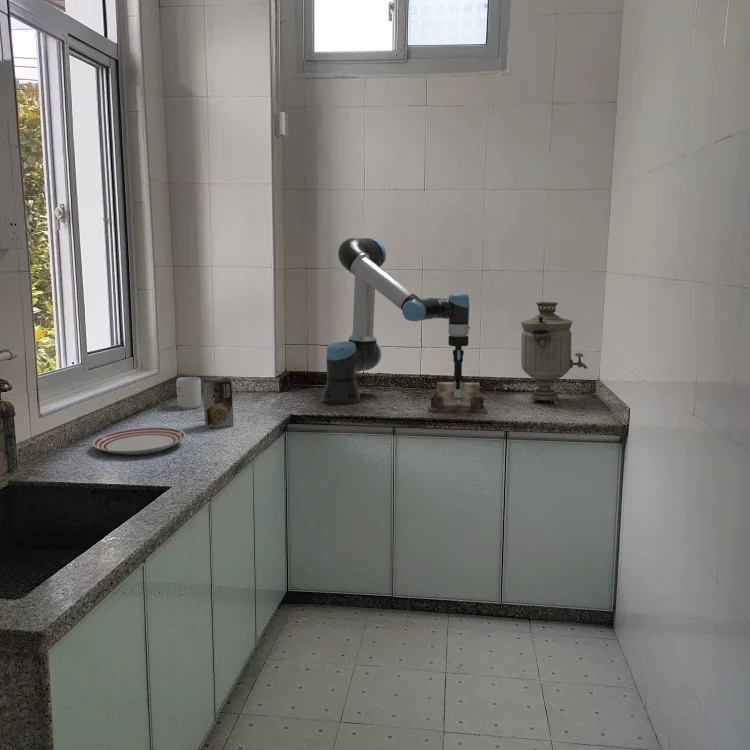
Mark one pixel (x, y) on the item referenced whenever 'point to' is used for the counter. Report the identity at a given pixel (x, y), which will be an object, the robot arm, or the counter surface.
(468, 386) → the slat
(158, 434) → the dinner plate
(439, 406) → the slat base
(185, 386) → the mug
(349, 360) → the robot arm
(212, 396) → the coffee box
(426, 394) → the counter surface
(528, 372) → the samovar
